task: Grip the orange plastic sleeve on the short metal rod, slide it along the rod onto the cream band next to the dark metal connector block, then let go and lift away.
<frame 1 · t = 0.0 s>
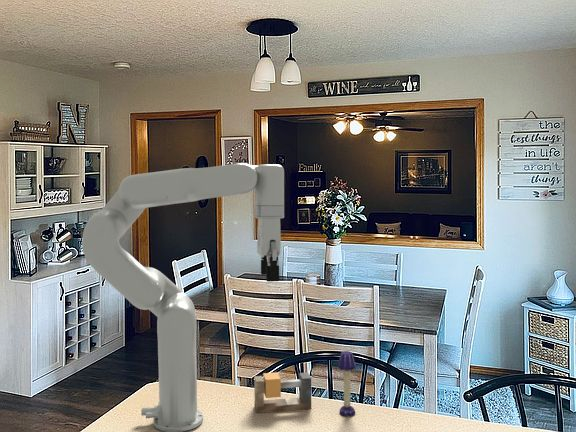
hand: (269, 277, 148), 37 cm above the counter, tool pointing down, fingers open, 9 cm apart
sleeve: (271, 385, 154), point 7 cm above the counter, slide at 0.0 cm
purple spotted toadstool: (346, 414, 151), on the counter
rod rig: (282, 407, 155), on the counter
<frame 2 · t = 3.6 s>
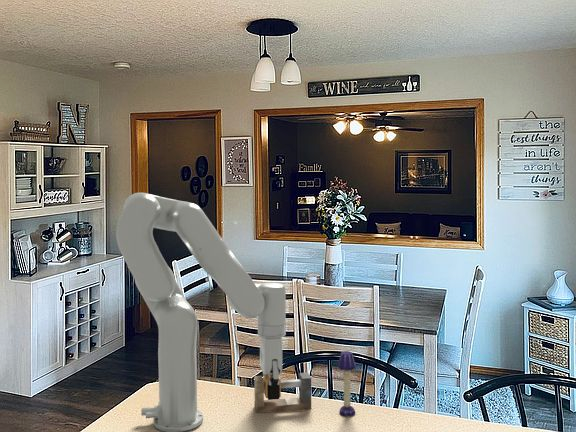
hand: (271, 394, 154), 4 cm above the counter, tool pointing down, fingers closed on sleeve, 5 cm apart
sleeve: (271, 385, 154), point 7 cm above the counter, slide at 0.0 cm, touching gripper
everything else where it was.
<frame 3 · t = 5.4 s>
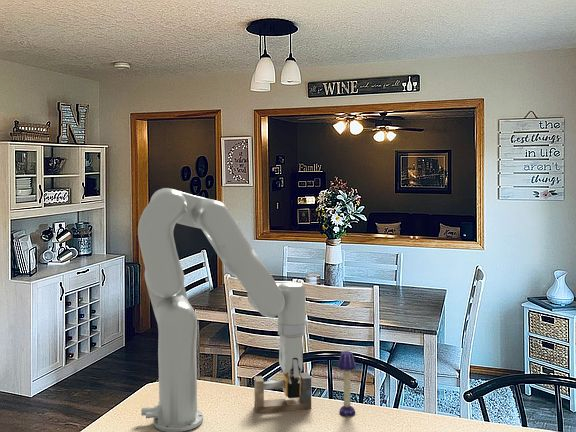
hand: (291, 392, 155), 4 cm above the counter, tool pointing down, fingers closed on sleeve, 5 cm apart
sleeve: (291, 383, 155), point 7 cm above the counter, slide at 5.5 cm, touching gripper
everything else where it was.
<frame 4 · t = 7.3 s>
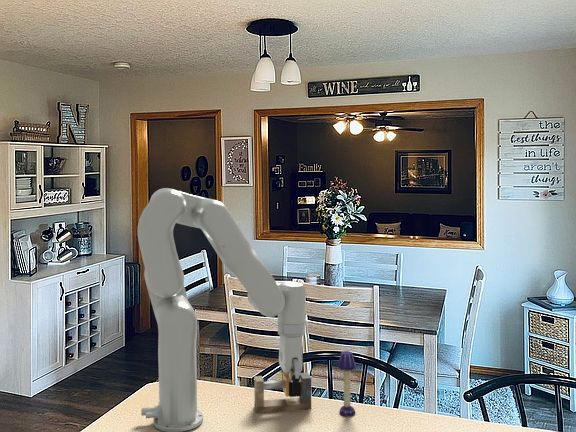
hand: (291, 389, 155), 5 cm above the counter, tool pointing down, fingers open, 9 cm apart
sleeve: (291, 383, 155), point 6 cm above the counter, slide at 5.5 cm
everything else where it was.
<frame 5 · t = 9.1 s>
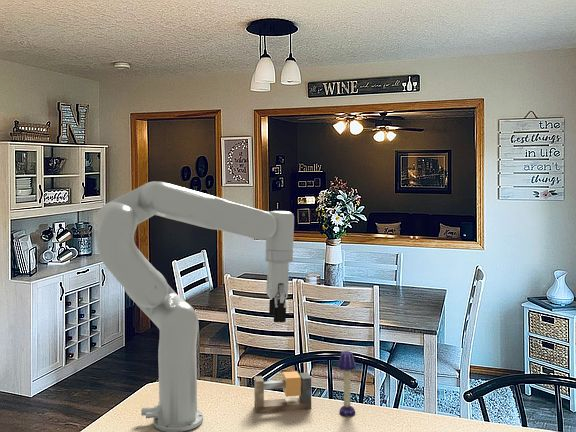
hand: (277, 317, 156), 24 cm above the counter, tool pointing down, fingers open, 9 cm apart
nothing on the counter moved.
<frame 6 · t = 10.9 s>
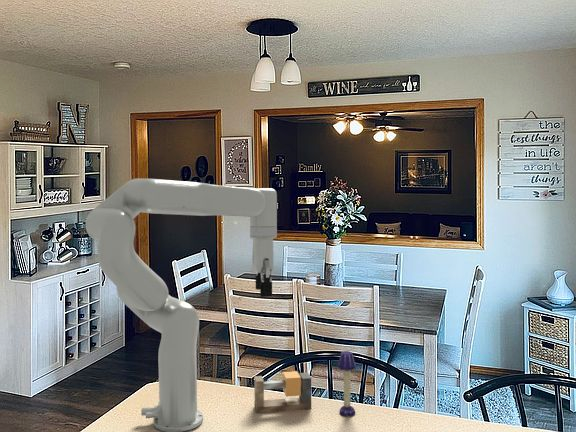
hand: (263, 292, 160), 30 cm above the counter, tool pointing down, fingers open, 9 cm apart
nothing on the counter moved.
at the end: sleeve slide at 5.5 cm; the gripper is holding nothing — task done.
